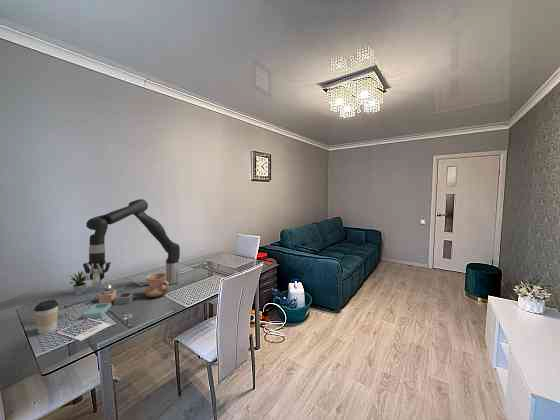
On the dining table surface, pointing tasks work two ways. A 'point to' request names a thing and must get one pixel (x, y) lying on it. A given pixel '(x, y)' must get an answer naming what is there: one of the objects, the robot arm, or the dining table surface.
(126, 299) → the checker cradle
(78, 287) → the house plant
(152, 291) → the ceramic jug
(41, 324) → the coffee cup
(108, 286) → the cell grey
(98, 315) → the trough
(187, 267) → the dining table surface
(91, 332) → the photo frame
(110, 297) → the cup
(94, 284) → the cell green
